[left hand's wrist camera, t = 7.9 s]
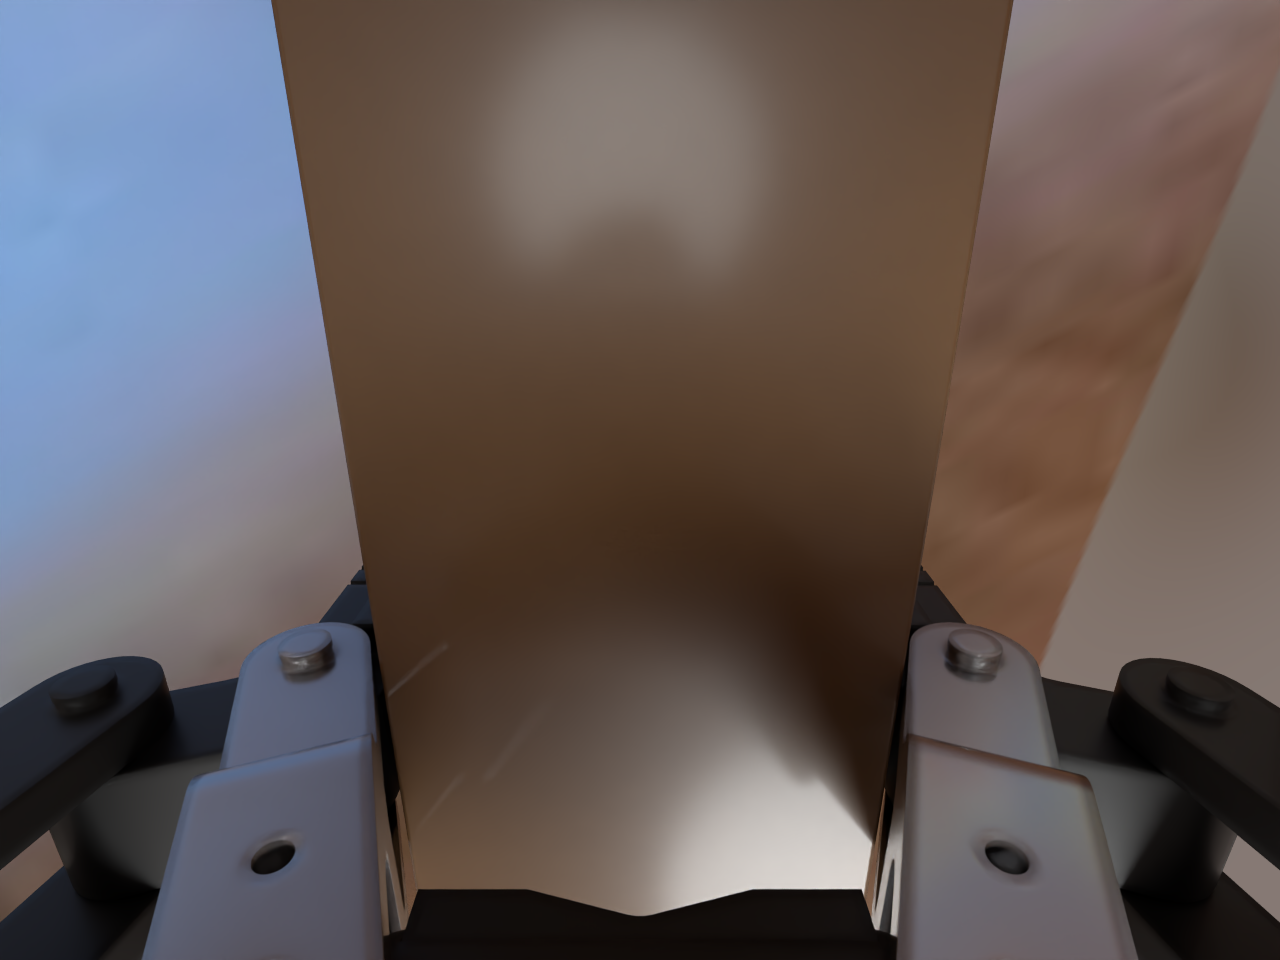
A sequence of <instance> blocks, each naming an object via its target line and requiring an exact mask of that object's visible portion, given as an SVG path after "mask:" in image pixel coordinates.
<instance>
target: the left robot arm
mask: <svg viewBox="0 0 1280 960" xmlns="http://www.w3.org/2000/svg"><path fill="white" fill-rule="evenodd" d="M399 790H400V786H399V780H398V774H397V768H396V762H395V755H394V749H393V743H392V737H391V731H390V725H389V719H388V713H387V706H386V700H385V694H384V688H383V682H382V676H381V670H380V664H379V657H378V651H377V645H376V639H375V633H374V627H373V621H372V615H371V608H370V602H369V596H368V590H367V584H366V578H365V572H364V566H362V570H359V571H358V572H357V574H356V575H355V576H354V578H353V579H352V580H351V585H347V587H346V588H345V589H344V591H343V592H342V593H341V595H340V596H339V597H338V598H337V600H336V601H335V602H334V604H333V605H332V606H331V608H330V609H329V610H328V612H327V613H326V614H325V615H324V617H323V618H322V619H321V621H320V622H319V623H316V624H309V625H305V626H301V627H297V628H294V629H291V630H288V631H285V632H283V633H280V634H278V635H276V636H274V637H272V638H270V639H268V640H267V641H265V642H263V643H262V644H260V645H259V646H258V647H256V648H255V649H254V650H253V651H252V652H251V653H250V654H249V655H248V656H247V657H246V659H245V660H244V662H243V664H242V667H241V670H240V675H239V677H238V678H234V679H230V680H225V681H220V682H215V683H209V684H204V685H199V686H194V687H189V688H183V689H178V690H173V691H169V688H168V685H167V682H166V678H165V675H164V672H163V669H162V667H161V665H160V664H159V663H157V662H156V661H154V660H152V659H149V658H145V657H137V656H122V657H114V658H107V659H102V660H97V661H94V662H90V663H86V664H83V665H80V666H77V667H74V668H71V669H69V670H66V671H64V672H61V673H59V674H57V675H55V676H53V677H51V678H49V679H47V680H45V681H43V682H41V683H40V684H38V685H36V686H34V687H33V688H31V689H30V690H28V691H27V692H25V693H23V694H22V695H20V696H19V697H17V698H15V699H14V700H12V701H11V702H9V703H7V704H6V705H4V706H3V707H1V708H0V870H1V869H2V868H3V867H5V866H6V865H7V864H8V863H9V862H11V861H12V860H13V859H14V858H15V857H17V856H18V855H19V854H20V853H21V852H23V851H24V850H25V849H26V848H27V847H29V846H30V845H31V844H32V843H33V842H35V841H36V840H37V839H38V838H39V837H41V836H42V835H43V834H44V833H46V832H47V831H48V830H50V833H51V835H52V838H53V840H54V843H55V845H56V847H57V850H58V852H59V855H60V857H61V860H62V862H63V865H64V866H63V867H62V868H61V869H60V870H58V871H57V872H56V873H55V874H54V875H53V876H52V877H51V878H49V879H48V880H47V881H46V882H45V883H44V884H43V885H42V886H41V887H39V888H38V889H37V890H36V891H35V892H34V893H33V894H32V895H30V896H29V897H28V898H27V899H26V900H25V901H24V902H23V903H22V904H20V905H19V906H18V907H17V908H16V909H15V910H14V911H13V912H11V913H10V914H9V915H8V916H7V917H6V918H5V919H4V920H3V921H1V922H0V960H1280V922H1279V921H1277V920H1276V919H1275V918H1274V917H1273V916H1272V915H1271V914H1270V913H1269V912H1267V911H1266V910H1265V909H1264V908H1263V907H1262V906H1261V905H1260V904H1258V903H1257V902H1256V901H1255V900H1254V899H1253V898H1252V897H1251V896H1250V895H1248V894H1247V893H1246V892H1245V891H1244V890H1243V889H1242V888H1241V887H1239V886H1238V885H1237V884H1236V883H1235V882H1234V881H1233V880H1232V879H1231V878H1229V877H1228V876H1227V875H1226V874H1225V873H1224V872H1223V868H1224V866H1225V863H1226V861H1227V859H1228V856H1229V854H1230V852H1231V849H1232V847H1233V844H1234V842H1235V840H1236V837H1237V835H1238V836H1239V837H1241V838H1242V839H1243V840H1244V841H1245V842H1247V843H1248V844H1249V845H1250V846H1251V847H1253V848H1254V849H1255V850H1256V851H1257V852H1259V853H1260V854H1261V855H1262V856H1264V857H1265V858H1266V859H1267V860H1268V861H1269V862H1271V863H1272V864H1273V865H1274V866H1275V867H1277V868H1278V869H1279V870H1280V708H1279V707H1277V706H1276V705H1274V704H1273V703H1271V702H1269V701H1268V700H1266V699H1265V698H1263V697H1261V696H1260V695H1258V694H1257V693H1255V692H1253V691H1252V690H1250V689H1249V688H1247V687H1245V686H1244V685H1242V684H1240V683H1238V682H1237V681H1235V680H1232V679H1230V678H1228V677H1226V676H1224V675H1222V674H1219V673H1217V672H1214V671H1212V670H1209V669H1206V668H1203V667H1200V666H1197V665H1193V664H1189V663H1186V662H1181V661H1176V660H1170V659H1161V658H1145V659H1138V660H1134V661H1131V662H1129V663H1127V664H1125V665H1124V666H1123V667H1122V669H1121V671H1120V673H1119V677H1118V680H1117V683H1116V687H1115V690H1114V692H1111V691H1107V690H1101V689H1096V688H1091V687H1086V686H1081V685H1075V684H1070V683H1065V682H1060V681H1055V680H1051V679H1047V678H1044V677H1041V674H1040V670H1039V667H1038V664H1037V662H1036V660H1035V659H1034V657H1033V656H1032V655H1031V654H1030V653H1029V652H1028V651H1027V650H1026V649H1025V648H1024V647H1022V646H1021V645H1020V644H1018V643H1017V642H1015V641H1014V640H1012V639H1010V638H1008V637H1006V636H1004V635H1002V634H1000V633H997V632H995V631H992V630H989V629H986V628H983V627H979V626H975V625H971V624H966V622H965V621H964V620H963V619H962V617H961V616H960V615H959V613H958V612H957V611H956V610H955V608H954V607H953V606H952V604H951V603H950V602H949V601H948V599H947V598H946V597H945V595H944V594H943V593H942V591H941V590H940V589H939V588H938V586H934V581H933V580H932V579H931V577H930V576H929V575H928V573H927V572H926V571H923V567H922V566H921V567H920V573H919V579H918V585H917V591H916V598H915V604H914V610H913V616H912V622H911V628H910V634H909V640H908V646H907V652H906V659H905V665H904V671H903V677H902V683H901V689H900V695H899V701H898V707H897V713H896V719H895V726H894V732H893V738H892V744H891V750H890V756H889V762H888V768H887V774H886V780H885V795H884V801H883V807H882V813H881V822H880V832H879V843H878V854H877V864H876V875H875V885H874V896H873V907H872V917H871V916H870V913H869V910H868V907H867V904H866V901H865V898H864V895H863V891H862V889H751V890H747V891H743V892H739V893H736V894H732V895H728V896H724V897H720V898H716V899H712V900H708V901H704V902H700V903H696V904H692V905H688V906H684V907H680V908H676V909H672V910H668V911H664V912H660V913H657V914H653V915H647V916H633V915H627V914H623V913H620V912H616V911H612V910H608V909H604V908H600V907H596V906H592V905H588V904H584V903H580V902H576V901H572V900H568V899H564V898H560V897H556V896H552V895H548V894H544V893H541V892H537V891H533V890H529V889H418V891H417V895H416V898H415V901H414V904H413V907H412V910H411V913H410V916H409V917H408V906H407V896H406V885H405V874H404V864H403V853H402V843H401V832H400V821H399V813H398V807H397V801H396V797H397V794H398V792H399Z"/></svg>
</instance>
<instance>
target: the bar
mask: <svg viewBox="0 0 1280 960" xmlns="http://www.w3.org/2000/svg"><path fill="white" fill-rule="evenodd" d="M271 2H272V8H273V14H274V20H275V26H276V32H277V39H278V45H279V51H280V57H281V63H282V69H283V75H284V81H285V88H286V94H287V100H288V106H289V112H290V118H291V124H292V130H293V137H294V143H295V149H296V155H297V161H298V167H299V173H300V179H301V186H302V192H303V198H304V204H305V210H306V216H307V222H308V228H309V235H310V241H311V247H312V253H313V259H314V265H315V271H316V278H317V284H318V290H319V296H320V302H321V308H322V314H323V320H324V327H325V333H326V339H327V345H328V351H329V357H330V363H331V369H332V376H333V382H334V388H335V394H336V400H337V406H338V412H339V418H340V425H341V431H342V437H343V443H344V449H345V455H346V461H347V467H348V474H349V480H350V486H351V492H352V498H353V504H354V510H355V516H356V523H357V529H358V535H359V541H360V547H361V553H362V559H363V566H364V572H365V578H366V584H367V590H368V596H369V602H370V608H371V615H372V621H373V627H374V633H375V639H376V645H377V651H378V657H379V664H380V670H381V676H382V682H383V688H384V694H385V700H386V706H387V713H388V719H389V725H390V731H391V737H392V743H393V749H394V755H395V762H396V768H397V774H398V780H399V786H400V792H401V798H402V804H403V811H404V817H405V823H406V829H407V835H408V841H409V847H410V854H411V860H412V866H413V872H414V878H415V884H416V890H417V891H418V889H529V890H533V891H537V892H541V893H544V894H548V895H552V896H556V897H560V898H564V899H568V900H572V901H576V902H580V903H584V904H588V905H592V906H596V907H600V908H604V909H608V910H612V911H616V912H620V913H623V914H627V915H633V916H647V915H653V914H657V913H660V912H664V911H668V910H672V909H676V908H680V907H684V906H688V905H692V904H696V903H700V902H704V901H708V900H712V899H716V898H720V897H724V896H728V895H732V894H736V893H739V892H743V891H747V890H751V889H862V891H863V895H864V898H865V901H866V896H867V890H868V884H869V878H870V872H871V866H872V860H873V854H874V848H875V841H876V835H877V829H878V823H879V817H880V811H881V805H882V799H883V793H884V787H885V780H886V774H887V768H888V762H889V756H890V750H891V744H892V738H893V732H894V726H895V719H896V713H897V707H898V701H899V695H900V689H901V683H902V677H903V671H904V665H905V659H906V652H907V646H908V640H909V634H910V628H911V622H912V616H913V610H914V604H915V598H916V591H917V585H918V579H919V573H920V567H921V561H922V555H923V549H924V543H925V537H926V530H927V524H928V518H929V512H930V506H931V500H932V494H933V488H934V482H935V476H936V469H937V463H938V457H939V451H940V445H941V439H942V433H943V427H944V421H945V415H946V408H947V402H948V396H949V390H950V384H951V378H952V372H953V366H954V360H955V354H956V347H957V341H958V335H959V329H960V323H961V317H962V311H963V305H964V299H965V293H966V286H967V280H968V274H969V268H970V262H971V256H972V250H973V244H974V238H975V232H976V226H977V219H978V213H979V207H980V201H981V195H982V189H983V183H984V177H985V171H986V165H987V158H988V152H989V146H990V140H991V134H992V128H993V122H994V116H995V110H996V104H997V97H998V91H999V85H1000V79H1001V73H1002V67H1003V61H1004V55H1005V49H1006V43H1007V36H1008V30H1009V24H1010V18H1011V12H1012V6H1013V0H271Z"/></svg>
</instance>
